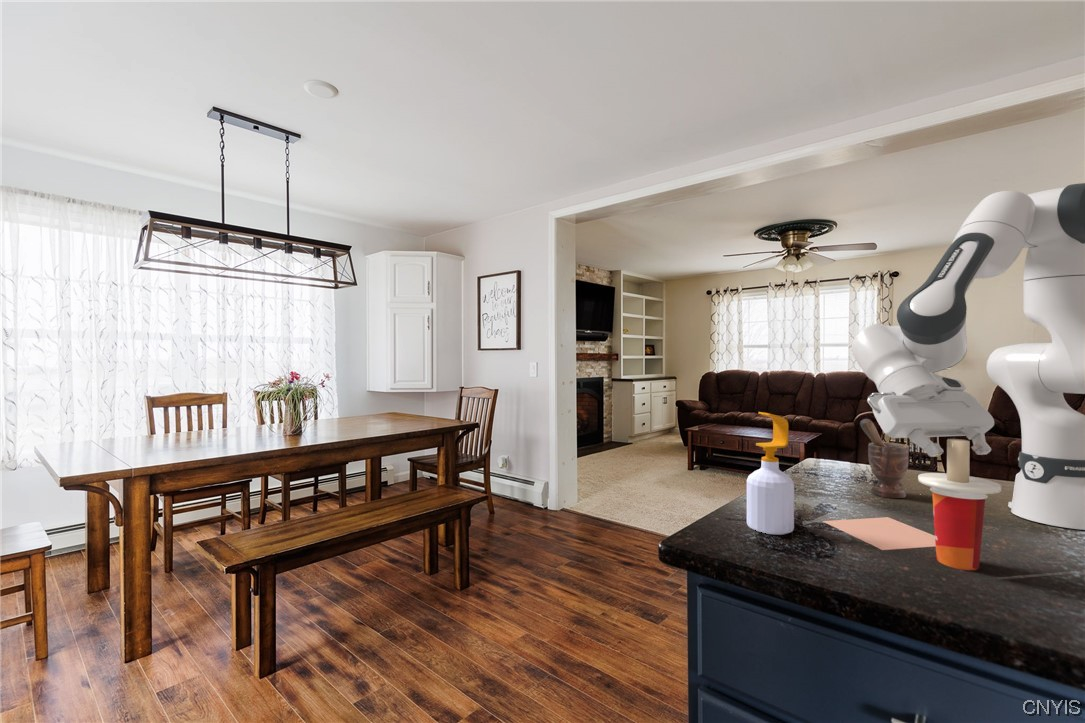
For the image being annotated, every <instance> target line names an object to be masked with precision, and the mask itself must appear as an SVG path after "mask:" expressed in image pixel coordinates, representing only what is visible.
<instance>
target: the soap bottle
mask: <svg viewBox="0 0 1085 723" xmlns="http://www.w3.org/2000/svg"><path fill="white" fill-rule="evenodd" d="M758 415H762V416H765V417H768V418H770V419H771V421H772V426H773V427H772V428H773V429H772V430H773V432H772V433H773V434H772V436H773V437H772V441H769V442H756V443H755V446H758V447H760V448H762V451H764V452H765V456H761V460H760V461H761V462H760V463H761V466H760V468H759V469H756V470H754V471H753V472H752V473H750V474H749V475H748V476H747V479H746V524H747V526H748V528H750V529H751V530H753V531H755V530H756V532H758V533H761V532H762V534H765V533H766V535H773V536H774V535H776V536H782V535H786V534H789V533H793V531H794V529H795V484H794V481H793V480H792V478H791V477H790V476H789V475H788V474H787V473H785V472H783V471H782V470H780V467H779V466H780V465H779V462H780V461H779V460H780V459H779V458H778V457H775V452H777V451H778V449H781V448H782V449H783V448H786V447H787V446H788V444H789V421H788V419H787V418H785V417H782V416H779V415H776V414H773V413H768V412H763V411H762V412H761V411H758Z"/></svg>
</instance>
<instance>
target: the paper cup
mask: <svg viewBox="0 0 1085 723" xmlns="http://www.w3.org/2000/svg"><path fill="white" fill-rule="evenodd" d="M929 490H930V491H931V493H932V510H933V511H932V513H933V525H934V536H935V544H936V547H935V553H936V556H935V557H936V561H937V562H939V563H940V564H942V565H944V566H947V567H950V568H954V569H959V570H963V571H976V570H979V569H980V561H981V551H982V540H983V530H984V529H983V528H984V516H985V515H984V514H985V502H986V499H988V494H972V493H962V492H954V491H948V490H943V489H938V488H934V487H930V488H929Z"/></svg>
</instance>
